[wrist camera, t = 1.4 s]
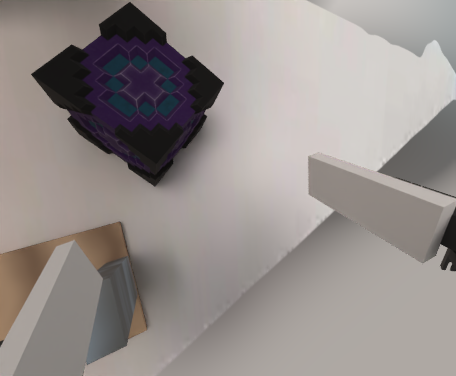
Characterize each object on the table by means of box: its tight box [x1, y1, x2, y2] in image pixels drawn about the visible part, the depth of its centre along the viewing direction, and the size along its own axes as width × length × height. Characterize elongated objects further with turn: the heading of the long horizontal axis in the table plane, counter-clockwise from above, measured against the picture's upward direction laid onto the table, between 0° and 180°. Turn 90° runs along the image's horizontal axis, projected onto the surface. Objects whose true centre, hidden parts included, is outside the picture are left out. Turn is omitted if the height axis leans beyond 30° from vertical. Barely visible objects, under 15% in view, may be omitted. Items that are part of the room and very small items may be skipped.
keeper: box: [0, 222, 147, 365], centre depth 17 cm, size 20×14×13 cm
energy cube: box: [31, 2, 224, 186], centre depth 25 cm, size 12×12×12 cm
